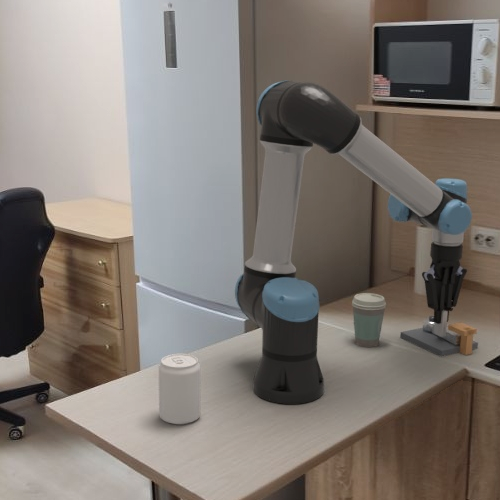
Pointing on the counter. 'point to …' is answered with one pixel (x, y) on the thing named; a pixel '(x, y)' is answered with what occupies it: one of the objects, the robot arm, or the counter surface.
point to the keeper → (464, 336)
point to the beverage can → (179, 389)
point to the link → (450, 335)
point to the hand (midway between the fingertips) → (439, 334)
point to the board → (432, 342)
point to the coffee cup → (368, 318)
